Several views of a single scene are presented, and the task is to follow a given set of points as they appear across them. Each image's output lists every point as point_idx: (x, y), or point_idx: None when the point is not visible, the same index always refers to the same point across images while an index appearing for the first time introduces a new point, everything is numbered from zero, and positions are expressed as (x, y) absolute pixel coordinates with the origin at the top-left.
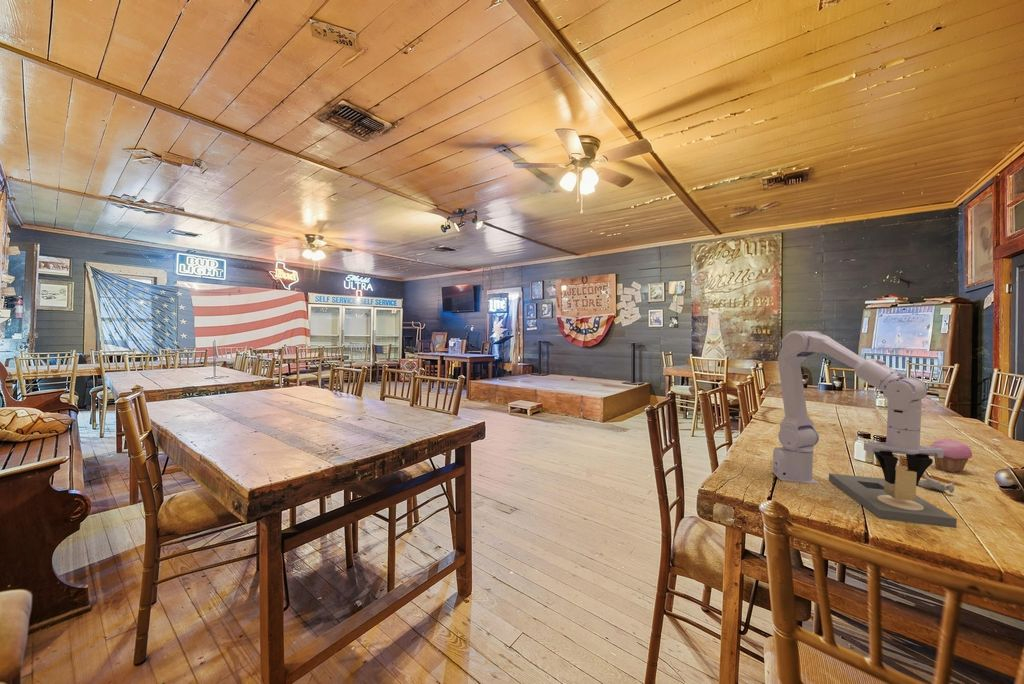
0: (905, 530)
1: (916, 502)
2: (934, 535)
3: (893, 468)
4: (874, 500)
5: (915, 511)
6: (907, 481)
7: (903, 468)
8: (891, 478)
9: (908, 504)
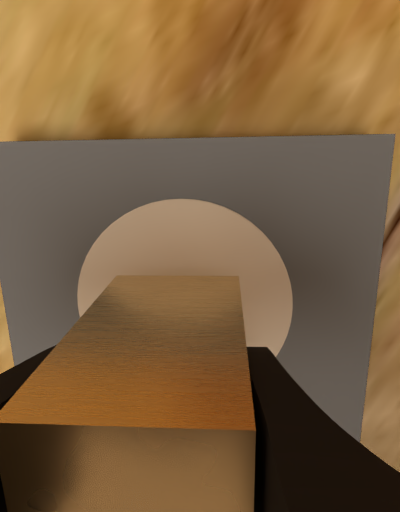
0: (297, 28)
1: None
2: (169, 11)
3: (294, 445)
4: (324, 300)
5: (165, 183)
6: (137, 341)
7: None
8: (275, 366)
9: None
